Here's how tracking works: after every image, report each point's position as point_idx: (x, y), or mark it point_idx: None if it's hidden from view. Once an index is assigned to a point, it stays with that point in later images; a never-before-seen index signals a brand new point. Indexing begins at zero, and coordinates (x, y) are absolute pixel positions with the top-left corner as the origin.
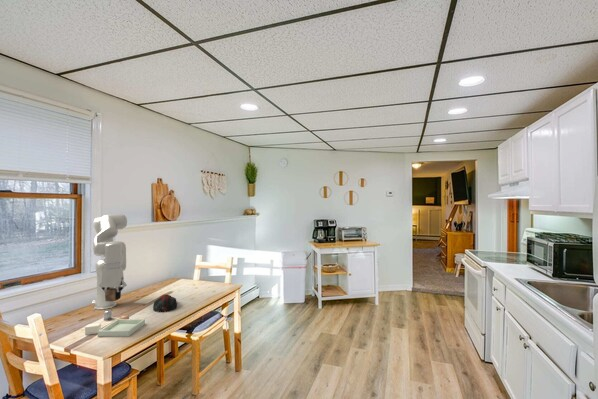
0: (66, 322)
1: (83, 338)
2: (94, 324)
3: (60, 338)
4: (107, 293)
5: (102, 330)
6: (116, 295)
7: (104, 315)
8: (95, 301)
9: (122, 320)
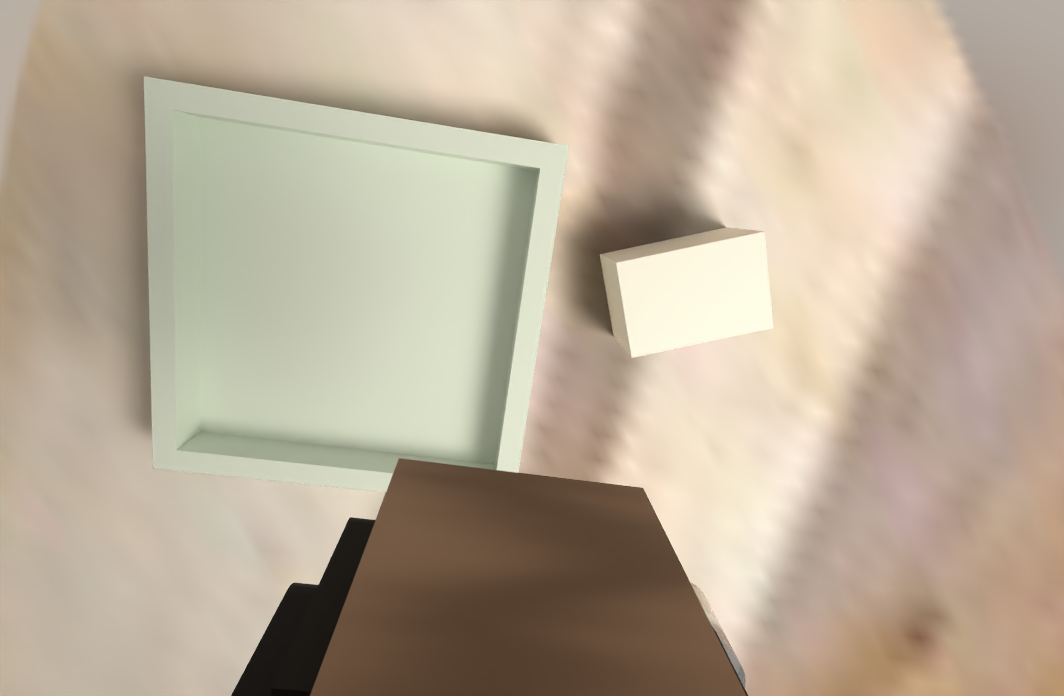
0: (1041, 574)
1: (697, 121)
2: (687, 314)
3: (943, 164)
4: (637, 640)
5: (534, 199)
6: (325, 596)
7: (709, 621)
8: None
9: None
